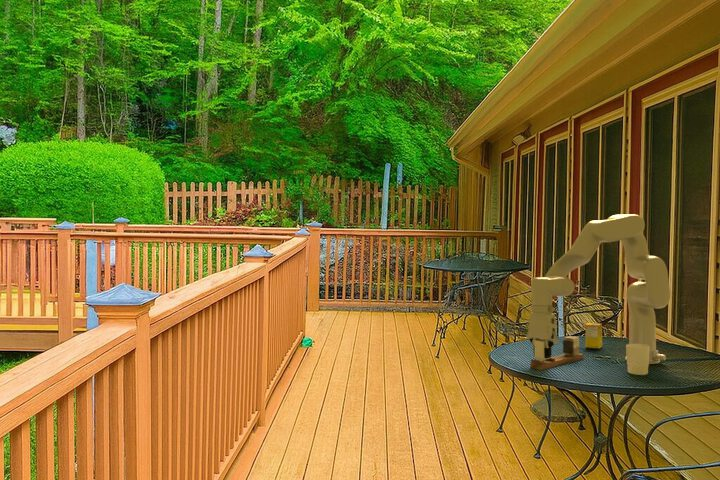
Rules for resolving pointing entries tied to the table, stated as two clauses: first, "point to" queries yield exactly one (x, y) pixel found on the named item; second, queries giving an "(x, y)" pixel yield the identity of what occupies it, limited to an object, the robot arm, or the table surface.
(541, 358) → the cream brown block
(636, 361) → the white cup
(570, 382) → the table surface
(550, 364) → the rail
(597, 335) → the supplement box
